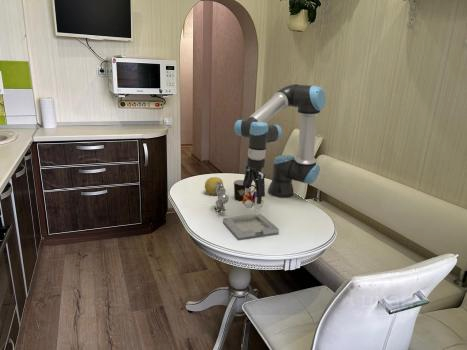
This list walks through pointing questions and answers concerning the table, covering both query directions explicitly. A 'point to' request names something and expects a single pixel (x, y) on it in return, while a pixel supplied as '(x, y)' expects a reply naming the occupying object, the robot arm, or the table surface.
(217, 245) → the table surface
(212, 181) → the fruit
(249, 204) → the colorful rounded-lobe toy
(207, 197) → the table surface
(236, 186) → the coffee mug
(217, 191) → the robot toy
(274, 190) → the robot arm
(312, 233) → the table surface
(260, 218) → the plate
